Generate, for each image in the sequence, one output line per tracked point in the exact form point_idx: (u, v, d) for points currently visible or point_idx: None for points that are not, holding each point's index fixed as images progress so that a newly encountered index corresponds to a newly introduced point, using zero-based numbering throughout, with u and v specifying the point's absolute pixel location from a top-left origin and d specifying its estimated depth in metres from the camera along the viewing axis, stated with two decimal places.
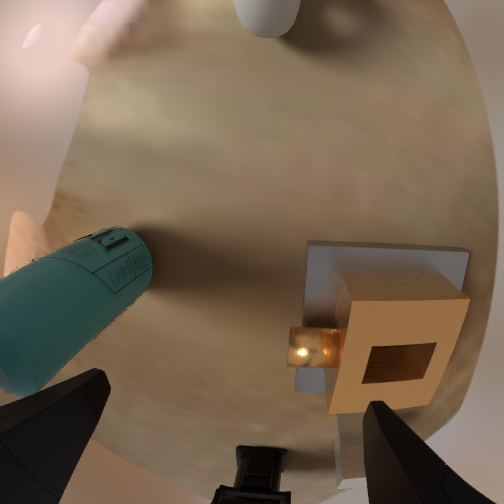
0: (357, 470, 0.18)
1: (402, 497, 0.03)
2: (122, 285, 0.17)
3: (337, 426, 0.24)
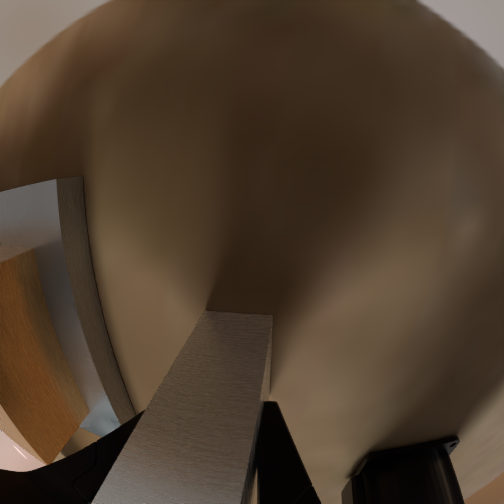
0: None
1: None
2: None
3: None
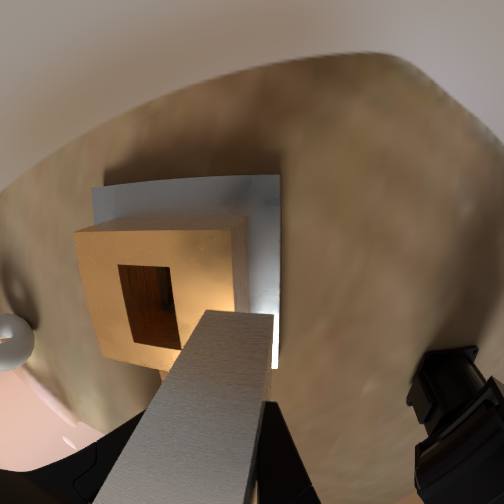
0: None
1: None
2: None
3: None
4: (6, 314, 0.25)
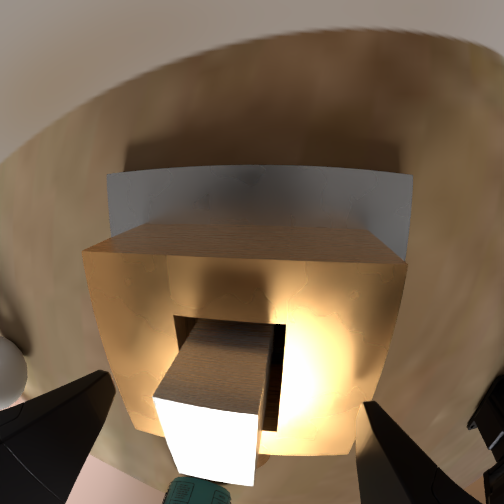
0: None
1: (392, 499, 0.04)
2: None
3: None
4: None
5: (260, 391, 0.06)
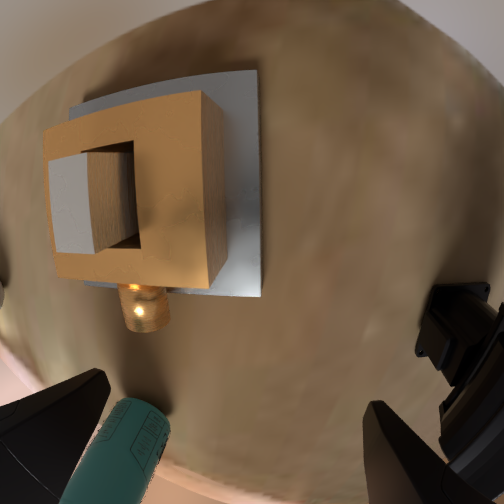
0: None
1: (402, 497, 0.03)
2: (114, 431, 0.18)
3: None
4: None
5: (97, 152, 0.09)
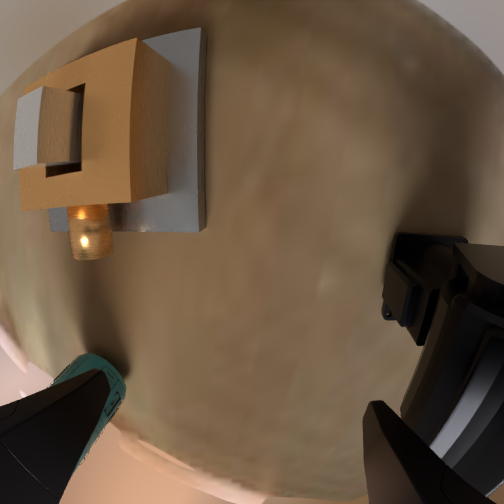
0: None
1: (402, 497, 0.03)
2: None
3: None
4: None
5: None
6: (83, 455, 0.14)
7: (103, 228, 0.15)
